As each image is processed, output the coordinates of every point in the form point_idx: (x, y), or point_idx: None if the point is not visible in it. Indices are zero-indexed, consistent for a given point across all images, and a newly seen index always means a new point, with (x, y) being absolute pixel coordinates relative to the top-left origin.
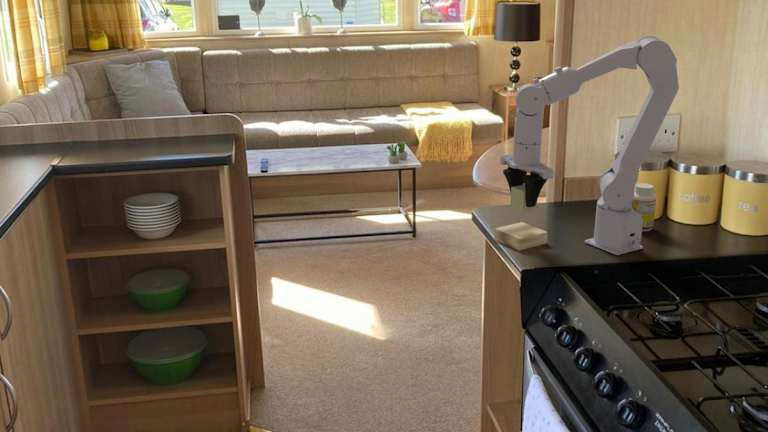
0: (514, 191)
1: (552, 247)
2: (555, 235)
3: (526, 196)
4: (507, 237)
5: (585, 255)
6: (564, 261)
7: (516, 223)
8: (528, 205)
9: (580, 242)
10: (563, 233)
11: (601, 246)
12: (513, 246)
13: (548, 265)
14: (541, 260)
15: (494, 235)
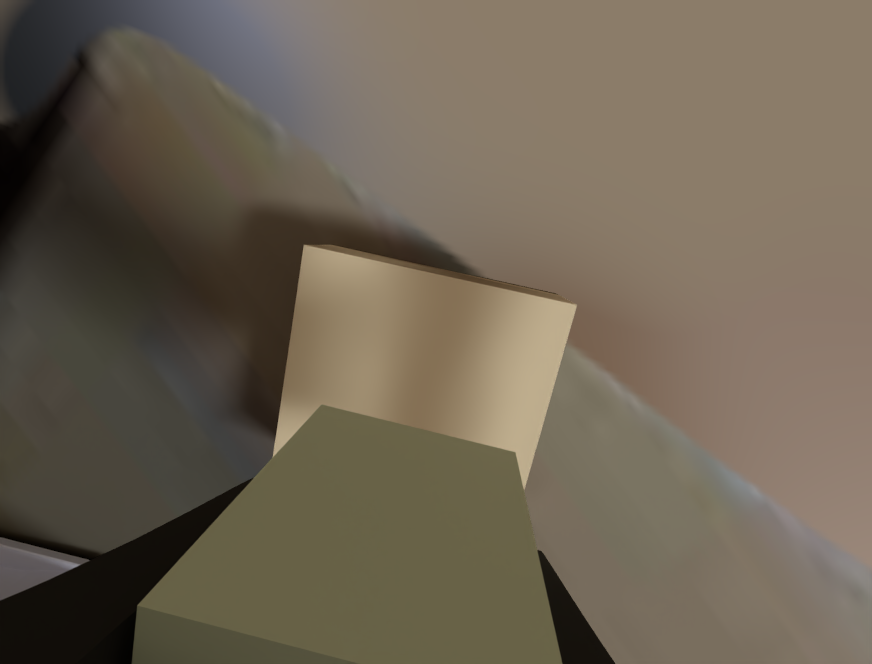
0: (460, 617)
1: (239, 420)
2: None
3: (176, 556)
4: (434, 271)
5: (60, 436)
6: (63, 285)
7: None
8: (235, 489)
9: None
10: None
11: (58, 567)
12: (378, 255)
13: (71, 166)
14: (145, 204)
15: (564, 298)
